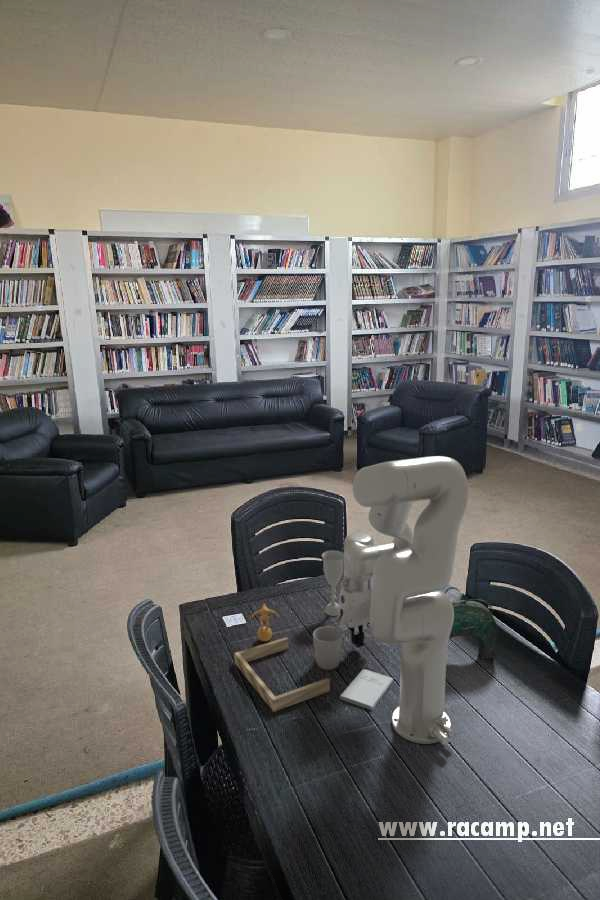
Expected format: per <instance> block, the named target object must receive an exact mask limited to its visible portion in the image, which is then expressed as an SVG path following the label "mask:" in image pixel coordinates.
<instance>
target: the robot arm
mask: <svg viewBox="0 0 600 900" xmlns="http://www.w3.org/2000/svg"><path fill="white" fill-rule="evenodd" d="M352 494H353V497H354V499H355V501H356V503H358V505H360V506H361V507H364V508H370V510H369V513H368V521H369V523H370V525H371V527H372V528H373V529H374V530H376V531H377V532H378V533H379V534H383V535H386V536H389V537H392V538H393V540H392V541H391V542H384V543H383V542H382V543H378V544H377V543H376V544H375V542H374V541H375V540H374V539H373V536H371V535H370V534H368V533H363V532H353V533H351V534H348V535H347V536H346V537H345V538H344V543H343V545H344V547H343V549H344V550H343V553H344V559H343V580H341V581H339V584H340V586H341V589H340V595H339V599H338V604H339V615H338V620H339V629H340V630H341V631H350V637H351V639H350V640H351V643H352V644H353V645H354V646H355V647H356V648H358V649H359V648H361V647H364V644H365V643H364V642H365V632H366V631H367V630H368V629H367V628H368V626H369V625H370V629H371V633H372V635H373V637H374V638H375V640H376V641H377V642H379V644H381V645H383V646H388V647H389V646H397V645H402V646H401V650H400V651H401V652H400V669H399V670H400V673H399V674H400V675H399V703H398V705H399V706H397V707H396V708H395V709H394V710H393V712H392V714H391V715H392V716H391V724H392V729H394V731H395V732H396V734H398V735H399V736H400V737H402V738H403V739H405V740H407V741H408V742H412V743H415V744H421V745H429V744H430V745H431V744H436V743H438V742H439V743H440V744H441V745H442V746H447V745H448V744H449V742H450V737H452V736H453V735H454V733H455V732H454V730H453V729H452V728H451V726H452V724H451V720H450V718H449V716H448V715H447V713H446V712H445V694H446V679H447V678H446V677H447V674H446V673H447V661H448V648H449V647H448V646H449V641H450V639H449V637H450V633H451V629H452V626H453V621H454V608H453V604H452V602H453V601H452V600H451V598H450V597H449V596H448V594H447V593H446V594H445V592H444V591H443V590H445V589H447V588H448V586H449V585H450V583H451V580H452V577H453V572H454V571H453V570H454V565H455V559H456V552H457V551H456V550H457V545H458V544H457V543H458V536H459V531H460V528H461V524H462V521H463V518H464V515H465V512H466V509H467V506H468V500H469V483H468V479H467V476H466V472H465V469H464V468H463V466H462V464H461V463H459V461H457V460H456V459H455V458H452V457H448V456H443V455H434V456H431V455H429V456H422V457H414V458H407V459H406V458H405V459H398V460H396V459H395V460H389V461H383V462H380V463H376V464H372V465H369V466H368V465H367V466H364V467H362V468H360V469H359V470H358V471H357V472H356V474H355V475H354V477H353V482H352ZM428 500H429V502H428V505H426V506H425V508H424V509H423V510H422V511H421V513H420V514H419V516H418V518H417V519H416V522H415V523H414V526H413V527H414V528H413V532H412V530H411V528H410V526H409V524H408V523H407V520H408V519H409V515H410V513H411V510H412V507H413V504H414V503H416V502H419V501H420V502H421V501H428Z"/></svg>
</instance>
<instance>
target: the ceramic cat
mask: <svg viewBox="0 0 600 900" xmlns="http://www.w3.org/2000/svg"><path fill="white" fill-rule="evenodd" d="M449 590H456V591H458V592H459V593H461V590H460V589H459V588H457V587H454V586H451V587H447V588H446V590H445V592H444V593H445V594H446V595H447V592H448V591H449ZM451 602H452V604H453V608H454V621H453V626H452V629H451V633H450V637H449V640H450V639H452V638H455V637H459V636H460V637H461V636H471V637H473V638H475V639H476V640H477V641H478V650H477V651H478V652H479V653H478V654H480V655H479V656H480V658H481V657H483V658H492V657H493V658H494V655H495V651H496V650H495V649H496V646H497V643H498V634H499V633H498V624H497V622H496V621H495V618H494V616H493V614H494V610H493V607H492V605H491V604H490V603H489V602H488V601H487V600H483V599H478V598H470V599H463V600H462V599H461V600H454V601H451ZM482 603H484V604H486V605H487V606H489V608H490V610H489V608H488V607H486V606H485V605H484V604H482ZM493 658H492V659H493Z"/></svg>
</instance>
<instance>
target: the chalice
mask: <svg viewBox="0 0 600 900" xmlns="http://www.w3.org/2000/svg"><path fill="white" fill-rule="evenodd" d="M321 558H322V559H323V560H322V562H323V568H322V569H323V574H324V576H325V580H326V581H327V583H328V585H330V586H331V589H330V593H331V595H330V598H331V602H329V603H328V604H327V606H326V608H325V610H324V613H325V614H326V615H328V616H330V617H331V616H332V617H334V616H335V617H336V616H339V602H336V598H337V595H336V592H337V590H336V586H337V585H338V584H340V582H341V581H340V580H341V578H342V576H343V575H344V551H341V550H336V549H335V550H334V549H331V550H326V551H323V553H322V554H321Z"/></svg>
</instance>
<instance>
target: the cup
mask: <svg viewBox="0 0 600 900" xmlns="http://www.w3.org/2000/svg"><path fill="white" fill-rule="evenodd" d="M342 631H343V630H342V629H340V628H338V627H335V626H328V625H326V626H325V625H324V626H320V627H318V628H316V629H314V631H313V633H312V640H313V647H314V655H315V661H316V662H315V663H316V665H317V667H318V668H320V669H322V670H326V671H329V670H334V669H336V668H338V666H339V664H340V659H341V655H342V654H341V652H342V644H343V637H344V633H343V632H342Z"/></svg>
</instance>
